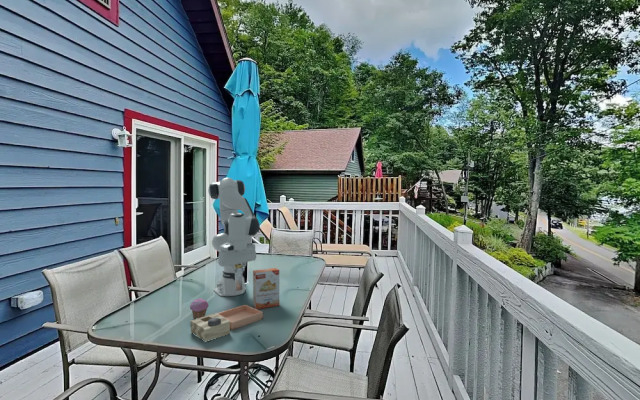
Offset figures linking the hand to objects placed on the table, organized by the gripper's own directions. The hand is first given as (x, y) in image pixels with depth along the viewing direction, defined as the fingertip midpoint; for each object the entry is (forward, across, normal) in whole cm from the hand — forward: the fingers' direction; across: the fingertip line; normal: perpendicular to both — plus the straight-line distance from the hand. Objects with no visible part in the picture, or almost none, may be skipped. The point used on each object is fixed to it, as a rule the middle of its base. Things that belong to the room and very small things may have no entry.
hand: (238, 271), depth 169 cm
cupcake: (+25, +13, -17) cm, 33 cm away
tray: (+25, 0, 0) cm, 25 cm away
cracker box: (+25, -21, -5) cm, 33 cm away
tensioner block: (+25, +18, +4) cm, 31 cm away
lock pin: (+9, 0, 0) cm, 9 cm away
